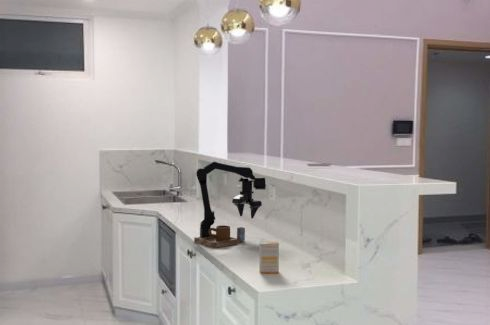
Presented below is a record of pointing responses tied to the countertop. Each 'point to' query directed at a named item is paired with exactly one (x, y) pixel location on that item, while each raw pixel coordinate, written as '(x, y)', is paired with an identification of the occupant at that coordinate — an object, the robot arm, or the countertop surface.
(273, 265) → the supplement box
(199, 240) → the brown frame with handle
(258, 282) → the countertop surface
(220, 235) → the mug
